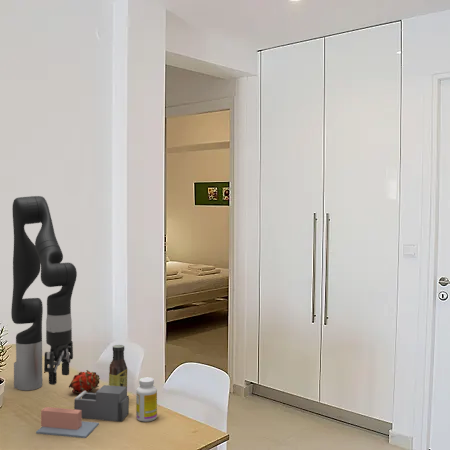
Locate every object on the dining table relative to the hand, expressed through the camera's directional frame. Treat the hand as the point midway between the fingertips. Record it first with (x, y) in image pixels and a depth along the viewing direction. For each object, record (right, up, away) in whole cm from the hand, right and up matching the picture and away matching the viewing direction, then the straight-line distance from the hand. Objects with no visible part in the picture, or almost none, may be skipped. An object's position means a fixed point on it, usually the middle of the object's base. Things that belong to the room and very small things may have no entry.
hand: (59, 379), depth 176 cm
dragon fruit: (0, -14, +32) cm, 35 cm away
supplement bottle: (+26, -15, +9) cm, 31 cm away
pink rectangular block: (0, -15, +1) cm, 15 cm away
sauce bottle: (+14, -14, +23) cm, 30 cm away
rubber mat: (+3, -15, 0) cm, 16 cm away
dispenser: (+11, -15, +11) cm, 21 cm away
